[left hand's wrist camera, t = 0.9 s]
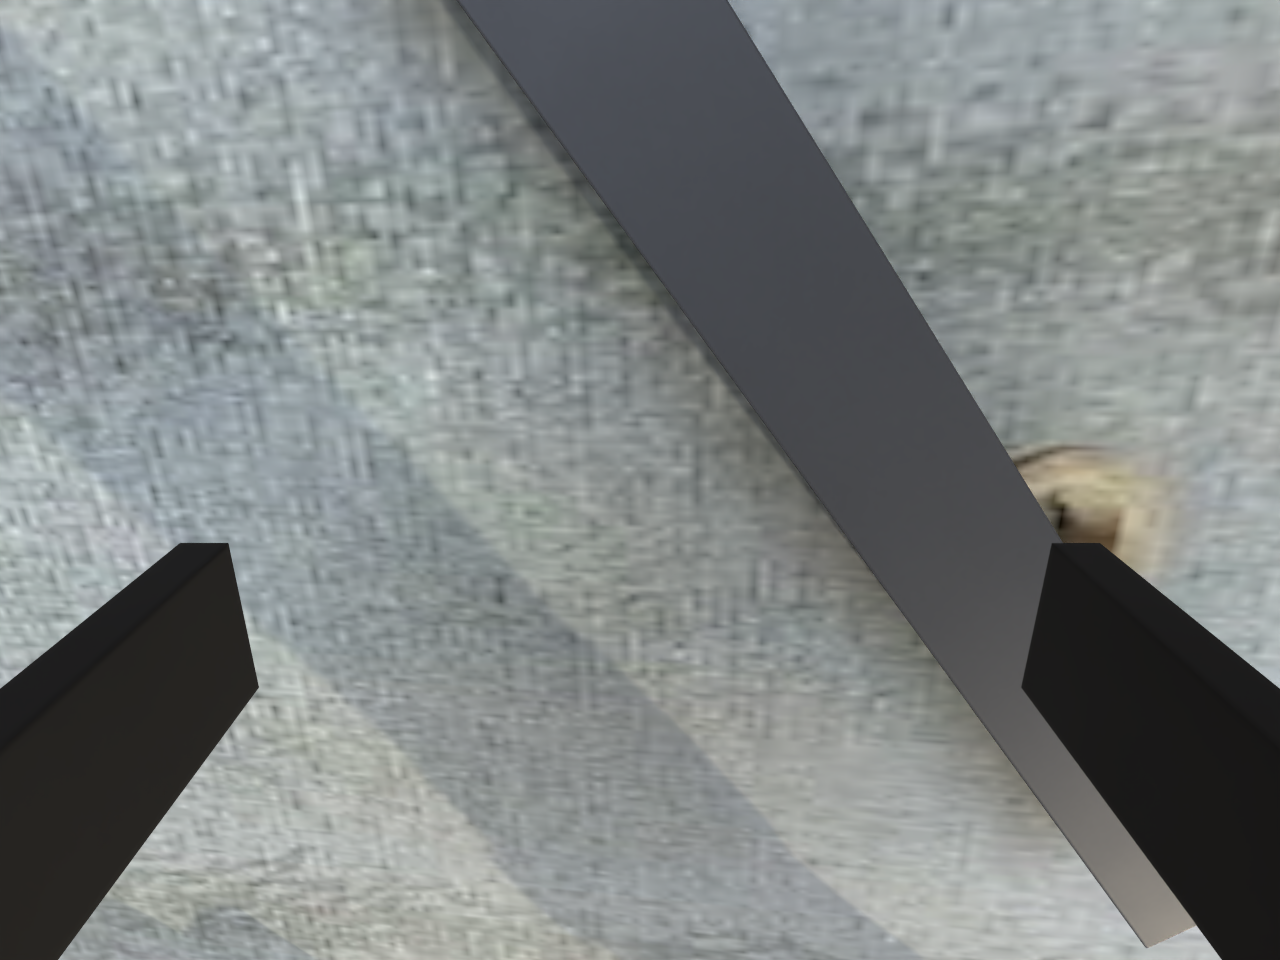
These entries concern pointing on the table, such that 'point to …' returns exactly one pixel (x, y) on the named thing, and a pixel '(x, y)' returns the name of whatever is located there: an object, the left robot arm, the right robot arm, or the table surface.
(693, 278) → the beam
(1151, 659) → the left robot arm
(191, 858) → the table surface
